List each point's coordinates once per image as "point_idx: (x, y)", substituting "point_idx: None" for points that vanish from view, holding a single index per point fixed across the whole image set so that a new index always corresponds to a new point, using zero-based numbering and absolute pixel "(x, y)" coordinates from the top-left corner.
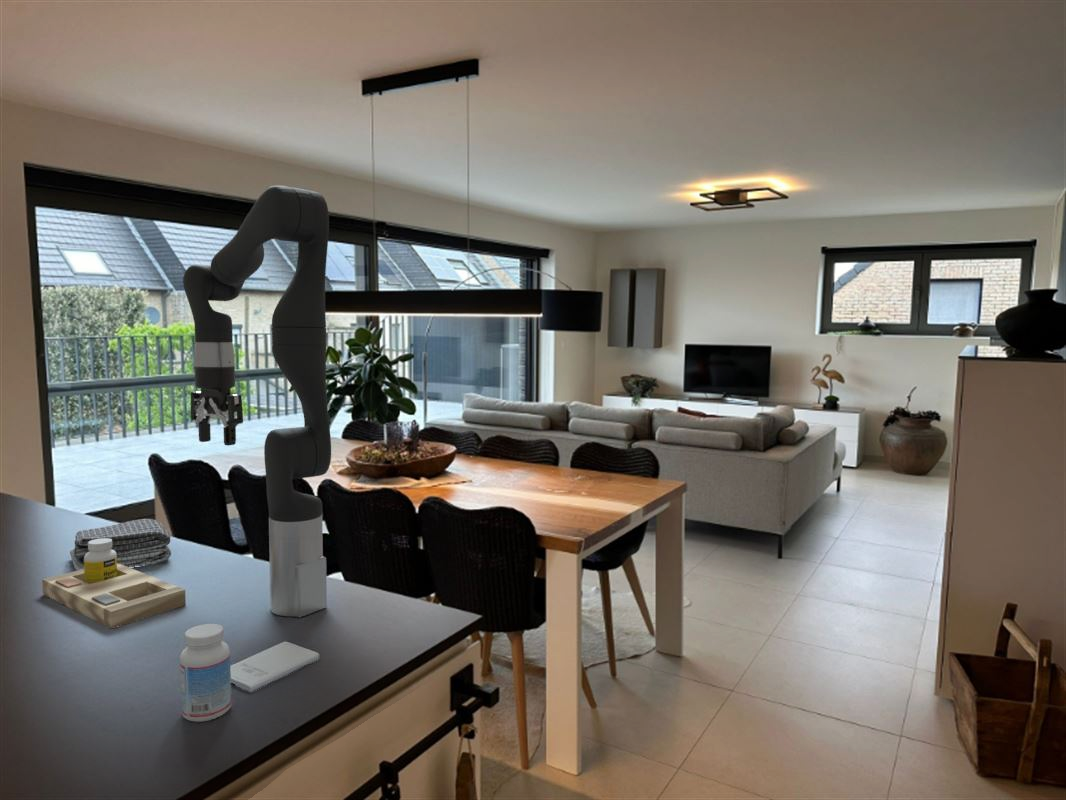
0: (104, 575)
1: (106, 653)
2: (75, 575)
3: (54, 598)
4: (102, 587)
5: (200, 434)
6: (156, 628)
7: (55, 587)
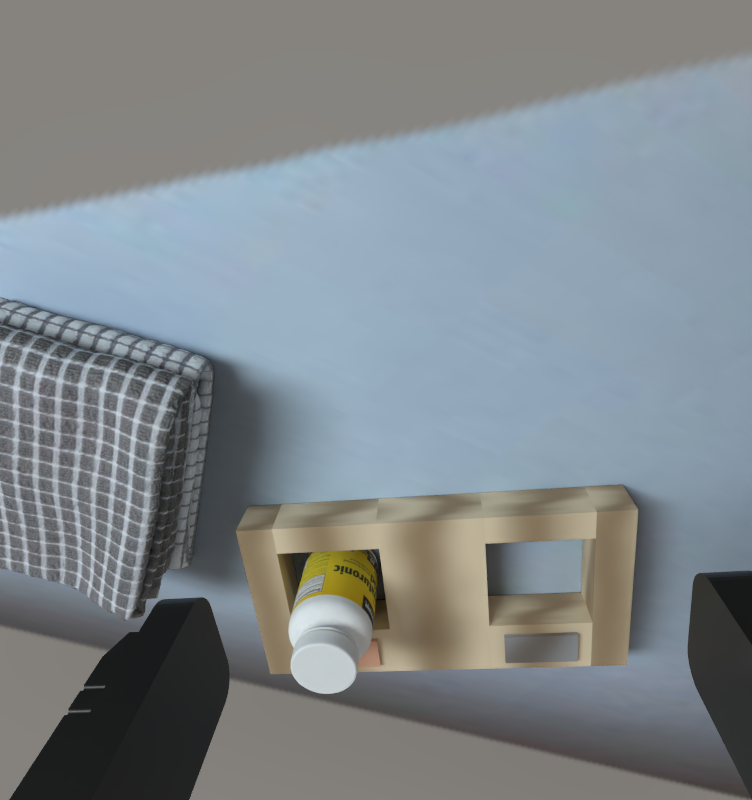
0: (375, 603)
1: None
2: None
3: None
4: (441, 621)
5: (194, 765)
6: None
7: None
